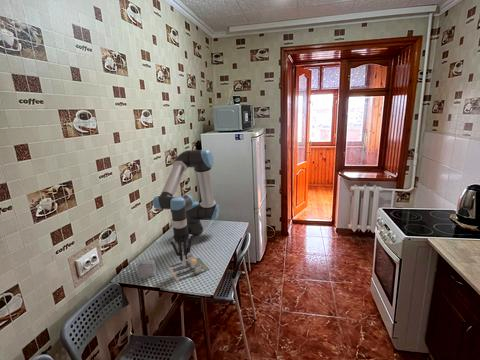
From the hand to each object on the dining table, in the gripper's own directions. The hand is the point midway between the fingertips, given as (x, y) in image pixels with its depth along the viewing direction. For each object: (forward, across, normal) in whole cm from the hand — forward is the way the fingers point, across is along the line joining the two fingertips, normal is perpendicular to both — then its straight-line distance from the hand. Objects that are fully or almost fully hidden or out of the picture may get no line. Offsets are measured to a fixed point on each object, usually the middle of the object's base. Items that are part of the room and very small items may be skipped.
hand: (184, 265), depth 145 cm
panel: (+4, +4, 0) cm, 6 cm away
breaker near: (+3, +6, -6) cm, 9 cm away
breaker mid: (+3, +6, 0) cm, 6 cm away
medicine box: (+5, -18, +8) cm, 20 cm away
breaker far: (+3, +6, +6) cm, 9 cm away
